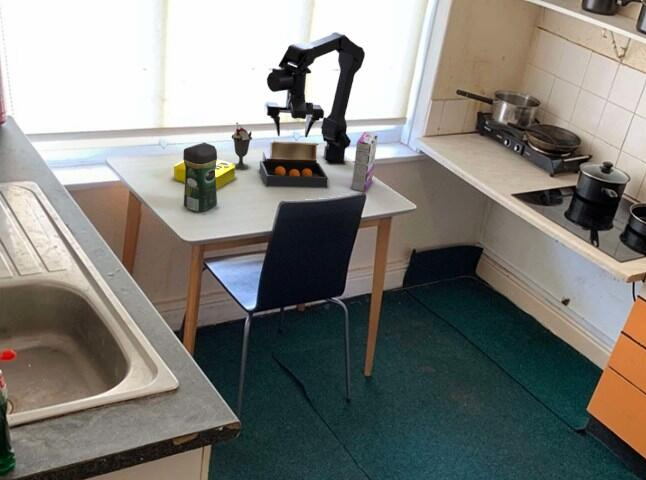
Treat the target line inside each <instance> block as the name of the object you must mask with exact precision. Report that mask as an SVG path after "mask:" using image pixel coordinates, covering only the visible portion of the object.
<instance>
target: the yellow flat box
mask: <svg viewBox="0 0 646 480" xmlns="http://www.w3.org/2000/svg"><path fill="white" fill-rule="evenodd" d="M173 178H174V180H175V181H177V182H181V183H184V184H185V164H184V160H182V161H180V162H178V163H176V164H174V165H173ZM235 178H236V168H235V165H234V163H230V162H228V161H224V160H220V159H217V163H216V190H218V189H220V188H222V187H223V186H225V185H227V184H229V183H230V182H232V181H233V180H235Z"/></svg>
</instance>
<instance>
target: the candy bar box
mask: <svg viewBox="0 0 646 480" xmlns="http://www.w3.org/2000/svg"><path fill="white" fill-rule="evenodd" d="M378 136H379V134H376V133H372V132H368V131H364V132H363V133H362V135H361V136H360V137H359V138H358V140H357V141H356V147H355V148H356V149H355V157H354V166H353V173H352V183H351V189H352V190H354V191H359V192H364V193H366V191H367V189H368V187H369V186H370V184H371V183H372V182H373V174H374V167H375V160H376V151H377V143H378Z"/></svg>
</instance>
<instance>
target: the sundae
mask: <svg viewBox="0 0 646 480" xmlns="http://www.w3.org/2000/svg"><path fill="white" fill-rule="evenodd" d="M235 124H236V125H237V126H238V127H237V128H235V132H234V133H233V134H232V135H231V139H232V140H233V143H234V146H233V147H234V152H235V155H237V156H238V163H235V164H234V163H233V164H234V165H235V170H241V171H242V170H243V171H244V170H247V169H248V168H249V165H247V164H245V163H244V157H246V156H247V154H248V152H249V146H250V143H251V141H252V140H253V137H252V131H251V130H250V131H249V132H248V130H247V129H245V128H244V127H242V126H241V125H240V124H239V122H235ZM239 127H240V128H239Z"/></svg>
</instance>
